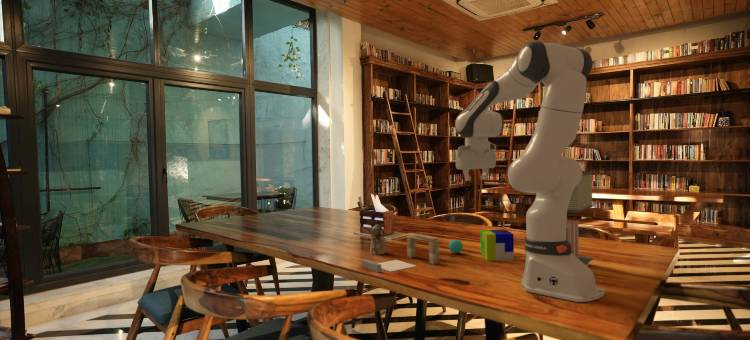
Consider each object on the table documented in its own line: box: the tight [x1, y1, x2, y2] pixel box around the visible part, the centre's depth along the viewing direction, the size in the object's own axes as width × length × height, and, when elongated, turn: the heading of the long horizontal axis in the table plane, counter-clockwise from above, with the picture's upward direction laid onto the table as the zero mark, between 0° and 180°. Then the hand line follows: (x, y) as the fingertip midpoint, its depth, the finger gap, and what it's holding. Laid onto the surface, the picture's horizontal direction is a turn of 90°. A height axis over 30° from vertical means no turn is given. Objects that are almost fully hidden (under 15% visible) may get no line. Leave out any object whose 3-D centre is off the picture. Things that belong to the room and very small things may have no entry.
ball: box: [448, 239, 463, 254], centre depth 171 cm, size 6×6×6 cm
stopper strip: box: [361, 258, 382, 273], centre depth 148 cm, size 10×2×2 cm, turn 35°
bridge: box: [406, 232, 440, 265], centre depth 161 cm, size 3×15×9 cm, turn 35°
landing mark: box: [377, 259, 417, 273], centre depth 153 cm, size 12×12×1 cm
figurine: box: [369, 223, 388, 256], centre depth 174 cm, size 7×7×12 cm
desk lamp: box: [535, 172, 594, 267], centre depth 147 cm, size 18×14×33 cm
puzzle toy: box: [480, 229, 515, 262], centre depth 163 cm, size 10×10×10 cm
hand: (475, 180), depth 169 cm, fingers open, 8 cm apart
